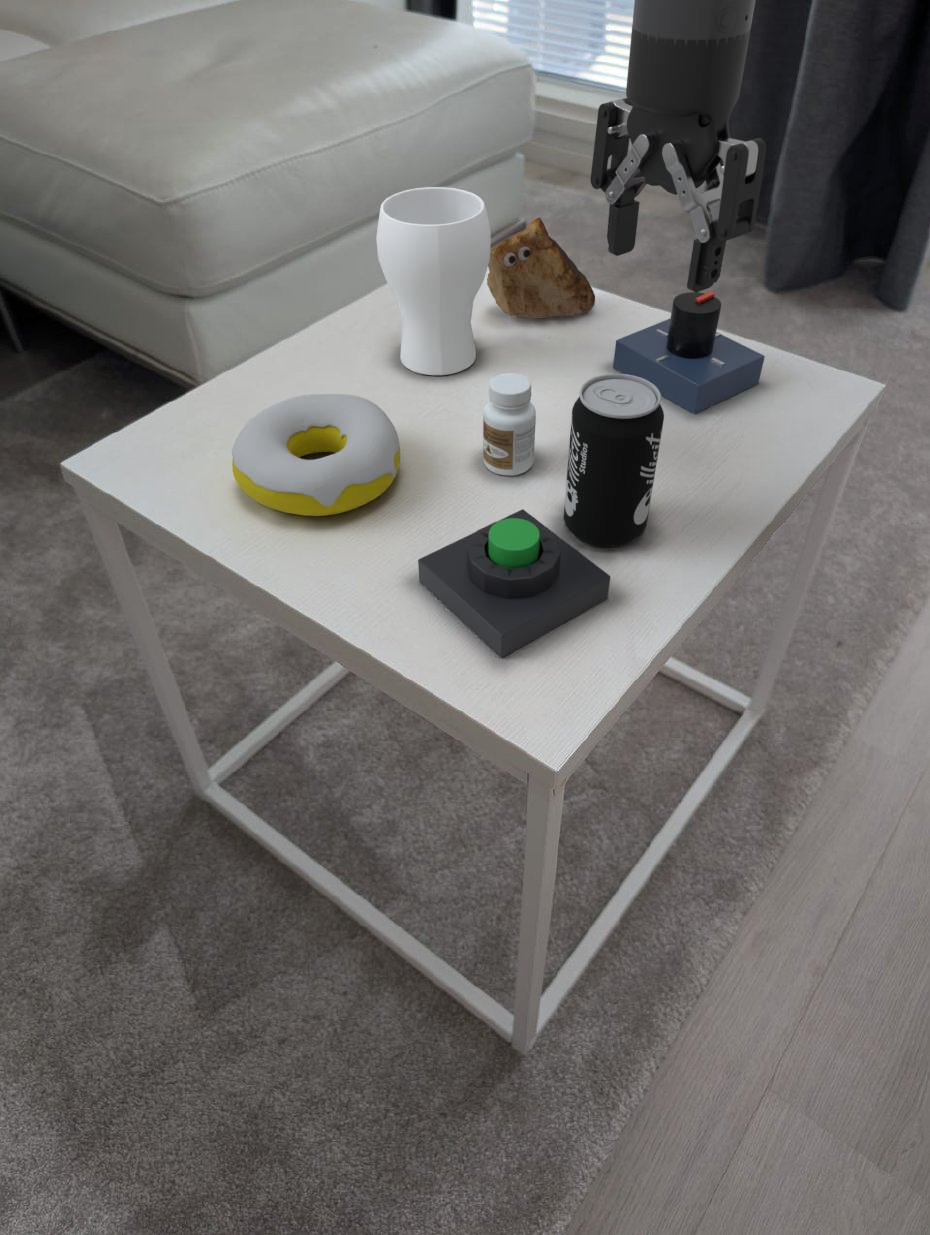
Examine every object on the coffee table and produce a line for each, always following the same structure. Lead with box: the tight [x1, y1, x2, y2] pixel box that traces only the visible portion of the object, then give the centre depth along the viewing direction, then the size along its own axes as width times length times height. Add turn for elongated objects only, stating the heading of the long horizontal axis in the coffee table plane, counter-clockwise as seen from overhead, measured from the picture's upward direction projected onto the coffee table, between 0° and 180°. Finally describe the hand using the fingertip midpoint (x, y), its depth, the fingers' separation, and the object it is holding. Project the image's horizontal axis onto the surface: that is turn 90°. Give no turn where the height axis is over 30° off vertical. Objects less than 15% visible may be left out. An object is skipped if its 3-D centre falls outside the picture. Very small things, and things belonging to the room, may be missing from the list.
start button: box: [488, 518, 540, 569], centre depth 64 cm, size 4×4×2 cm
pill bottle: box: [482, 372, 537, 477], centre depth 76 cm, size 4×4×8 cm
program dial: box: [666, 291, 722, 358], centre depth 86 cm, size 4×4×5 cm
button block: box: [417, 508, 611, 658], centre depth 66 cm, size 10×10×4 cm
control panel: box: [612, 318, 766, 415], centre depth 88 cm, size 11×9×3 cm
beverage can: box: [563, 373, 665, 549], centre depth 68 cm, size 7×7×12 cm
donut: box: [231, 393, 401, 517], centre depth 76 cm, size 14×14×5 cm
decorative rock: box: [486, 216, 596, 319], centre depth 96 cm, size 12×6×11 cm, turn 105°
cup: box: [375, 186, 492, 376], centre depth 87 cm, size 11×11×15 cm
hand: (658, 269), depth 69 cm, fingers open, 8 cm apart
